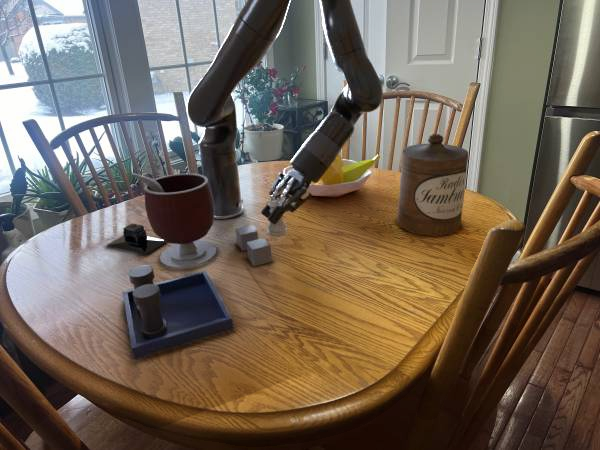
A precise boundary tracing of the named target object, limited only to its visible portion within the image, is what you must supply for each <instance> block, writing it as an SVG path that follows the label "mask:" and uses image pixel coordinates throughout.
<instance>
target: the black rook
mask: <svg viewBox="0 0 600 450" xmlns="http://www.w3.org/2000/svg"><path fill="white" fill-rule="evenodd" d="M128 279H129V282H130V284H132V285H133V289H136V288H138V287H140V286H142V285H146V284H155V282H154V279H155V271H154V267H153V266H152V265H148V264H143V265H138V266H135V267H133V268H131V269H130V270H128ZM159 303H160V301H159ZM160 307H161V304H160ZM137 312H138V314H139V315H140V311H139V307H138V305H137Z"/></svg>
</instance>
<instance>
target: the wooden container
mask: <svg viewBox="0 0 600 450" xmlns="http://www.w3.org/2000/svg"><path fill="white" fill-rule="evenodd" d="M427 142H428V143H419V144H418V143H417V144H412V145H408V146H406V147H404V148H403V150H401V151H402V152H401V166H400V167H401V169H400V179H399V180H400V181H399V189H398V190H399V191H398V204H397V205H398V206H397V207H398V209H397V224H398V226H399V227H400V228H402V229H403V230H405V231H407V232H409V233H412V234H416V235H421V236H429V237H434V236H435V237H438V236H446V235H447V236H448V235H450V234H453V233H455V232H457V231H458V230H459V229H460V228H461V223H462V215H463V208H464V207H463V206H464V200H465V191H466V190H465V189H466V181H467V180H466V178H467V169H468V161H469V160H468V159H469V151H468V150H467V149H465V148H463V147H460V146H458V145H453V144H445V143H443V142H444V136H443V135H441V134H440V133H432V134H431V135H429V136H428V137H427Z"/></svg>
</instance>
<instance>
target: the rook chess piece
mask: <svg viewBox="0 0 600 450" xmlns="http://www.w3.org/2000/svg"><path fill="white" fill-rule="evenodd" d="M280 201H281V199H279V198H277V200H275V198H273V200H272V199H270V198H269V200H268V202H269V203H268V202H267V204H268V205H269V207H270V212H271V213H272V211H273V210H274V209H275V208H276V206H278V204H279V202H280ZM268 222H269V223H268V225H267V234H268V235H269V236H271V237H274V238H275V237H276V238H277V237H278V238H279V237H282V236H285V235H286V234H287V233H288V229H287V224H286V223H285V220H284V218H283V216H282V217H281V218H280V220H279V221H278V222H277V223H276V224H273V223H271V222H270V221H268Z"/></svg>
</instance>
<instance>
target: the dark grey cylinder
mask: <svg viewBox="0 0 600 450" xmlns="http://www.w3.org/2000/svg"><path fill="white" fill-rule="evenodd" d="M134 289H135V288H134ZM133 298H134V302H135V304H136V305H138V307H139V311H140V315H141V319H142V324H143V325H142V327H141V331H142V335H143V337H144V338H145V339H150V340H152V339H155V338H158V337H162V336H163V335H165V334H166V332H167V330H168V328H167V323H166V321H165V320H163V317H162V312H161V307H160V303H159V300H160V298H161V295H160V290H159V287H158V286H157V285H155V283H154V284H146V285H142V286H140V287H138V288H136V289H135V290H134V291H133Z"/></svg>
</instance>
